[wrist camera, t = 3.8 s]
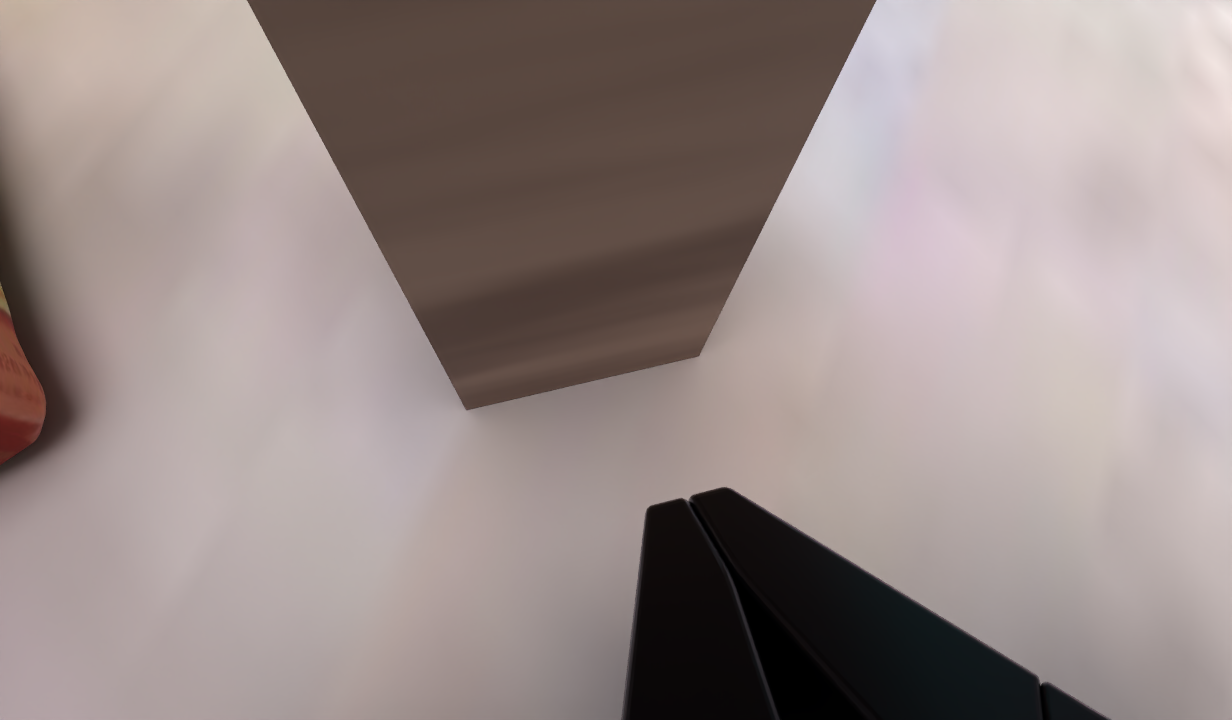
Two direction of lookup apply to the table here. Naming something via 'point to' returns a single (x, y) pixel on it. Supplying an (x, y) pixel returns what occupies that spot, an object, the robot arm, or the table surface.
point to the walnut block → (563, 162)
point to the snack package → (17, 392)
